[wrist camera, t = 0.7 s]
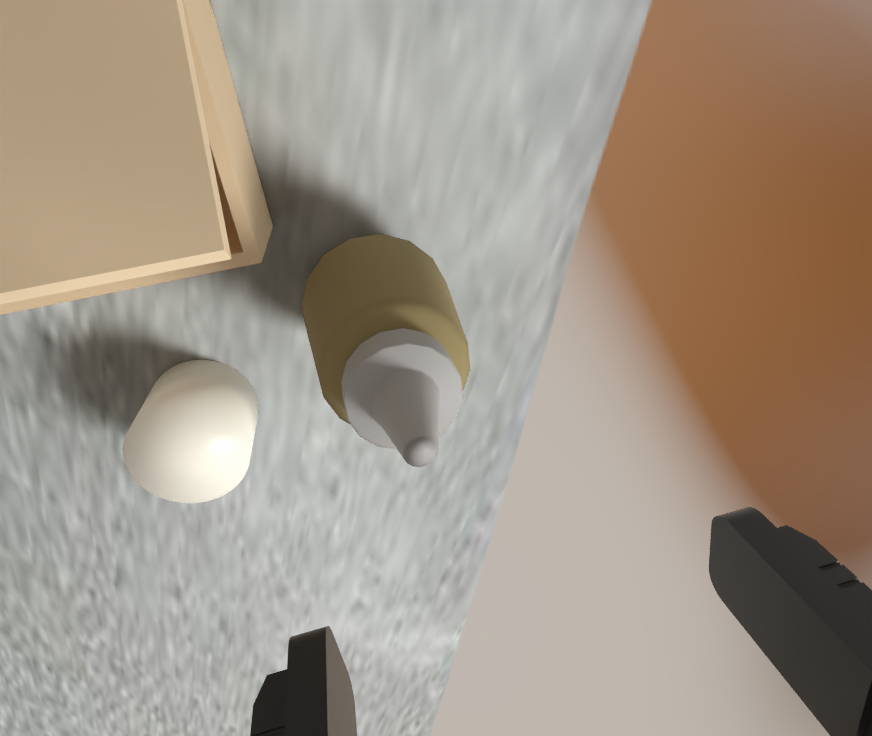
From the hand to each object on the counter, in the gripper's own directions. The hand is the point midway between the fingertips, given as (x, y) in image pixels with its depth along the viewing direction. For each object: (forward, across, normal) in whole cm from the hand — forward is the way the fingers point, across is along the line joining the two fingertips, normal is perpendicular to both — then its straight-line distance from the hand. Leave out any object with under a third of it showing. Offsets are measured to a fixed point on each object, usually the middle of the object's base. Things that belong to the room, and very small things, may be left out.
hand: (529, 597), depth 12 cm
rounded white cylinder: (+25, +13, +6) cm, 29 cm away
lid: (+14, +12, -10) cm, 21 cm away
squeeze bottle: (+26, +1, +1) cm, 26 cm away
